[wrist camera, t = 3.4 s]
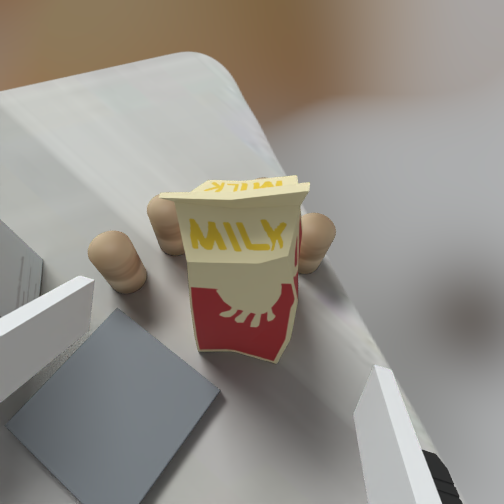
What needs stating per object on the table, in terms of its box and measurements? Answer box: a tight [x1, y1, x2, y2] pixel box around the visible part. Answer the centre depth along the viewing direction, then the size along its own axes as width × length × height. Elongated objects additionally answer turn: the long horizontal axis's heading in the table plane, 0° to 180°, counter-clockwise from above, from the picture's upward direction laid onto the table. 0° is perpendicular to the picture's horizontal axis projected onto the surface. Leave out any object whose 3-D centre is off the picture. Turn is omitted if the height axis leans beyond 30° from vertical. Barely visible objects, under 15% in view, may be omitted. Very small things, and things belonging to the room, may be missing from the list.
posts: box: [88, 177, 336, 294], centre depth 34 cm, size 22×8×6 cm, turn 98°
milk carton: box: [159, 175, 310, 364], centre depth 25 cm, size 9×9×20 cm
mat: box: [5, 308, 220, 504], centre depth 29 cm, size 12×12×1 cm
